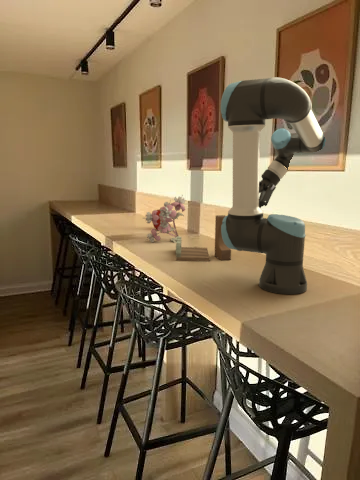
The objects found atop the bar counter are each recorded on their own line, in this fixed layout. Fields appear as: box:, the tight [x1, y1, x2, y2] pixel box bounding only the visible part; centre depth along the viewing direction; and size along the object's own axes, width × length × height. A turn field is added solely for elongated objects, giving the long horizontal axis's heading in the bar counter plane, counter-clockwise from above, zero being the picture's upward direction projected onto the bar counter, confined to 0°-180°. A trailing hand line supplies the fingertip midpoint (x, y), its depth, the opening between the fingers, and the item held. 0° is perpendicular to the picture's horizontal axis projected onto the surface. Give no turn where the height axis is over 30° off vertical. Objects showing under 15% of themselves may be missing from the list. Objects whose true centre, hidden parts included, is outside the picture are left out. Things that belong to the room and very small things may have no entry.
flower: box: [142, 194, 186, 244], centre depth 198 cm, size 20×22×25 cm
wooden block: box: [214, 214, 232, 261], centre depth 163 cm, size 9×4×18 cm, turn 13°
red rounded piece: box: [151, 208, 163, 231], centre depth 233 cm, size 10×10×14 cm
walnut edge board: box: [175, 236, 210, 262], centre depth 168 cm, size 20×14×6 cm
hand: (241, 213), depth 161 cm, fingers open, 13 cm apart
